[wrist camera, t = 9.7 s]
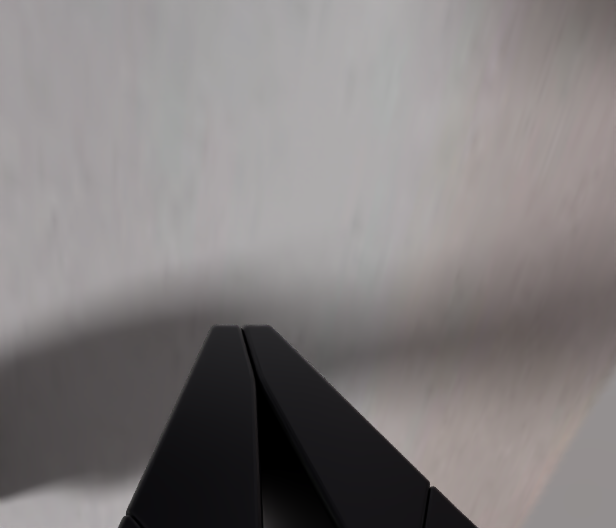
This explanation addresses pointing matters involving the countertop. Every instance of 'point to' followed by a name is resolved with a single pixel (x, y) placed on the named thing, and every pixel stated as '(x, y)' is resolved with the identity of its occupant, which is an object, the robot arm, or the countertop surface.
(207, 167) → the countertop surface
